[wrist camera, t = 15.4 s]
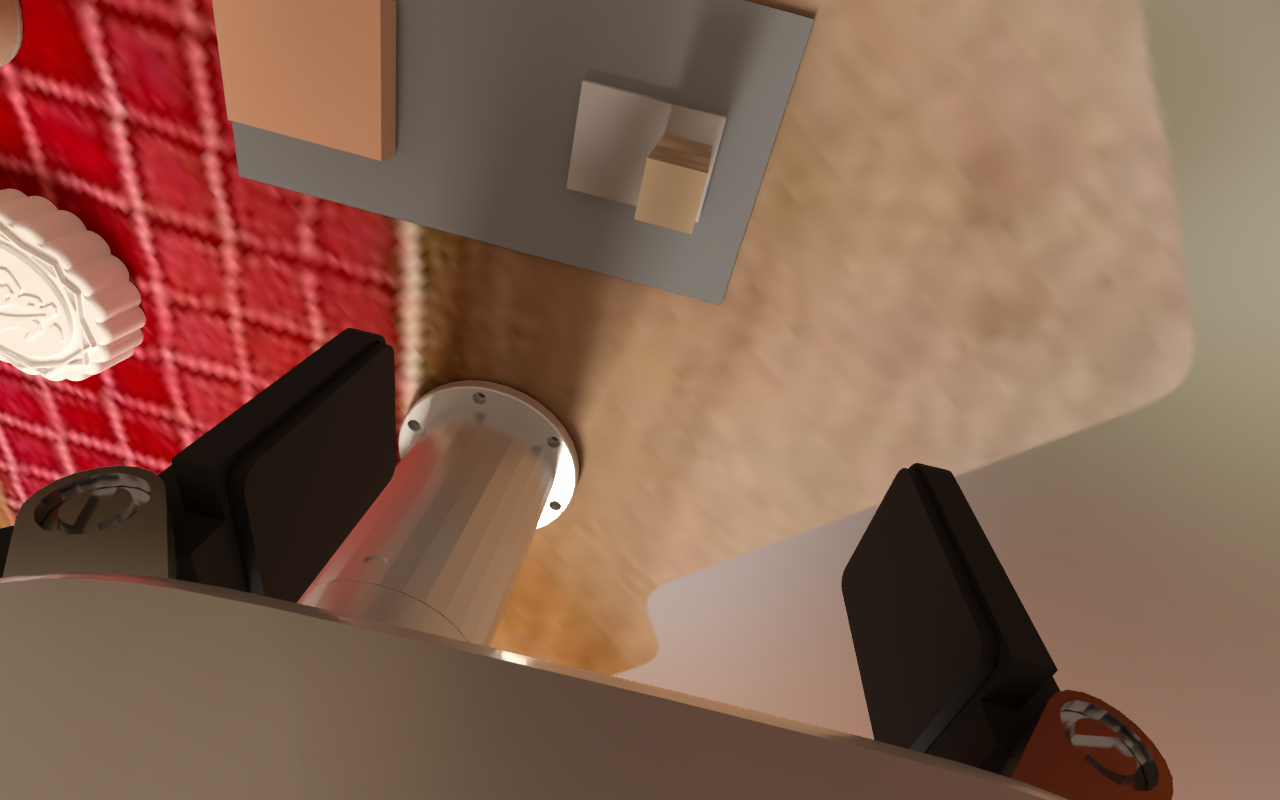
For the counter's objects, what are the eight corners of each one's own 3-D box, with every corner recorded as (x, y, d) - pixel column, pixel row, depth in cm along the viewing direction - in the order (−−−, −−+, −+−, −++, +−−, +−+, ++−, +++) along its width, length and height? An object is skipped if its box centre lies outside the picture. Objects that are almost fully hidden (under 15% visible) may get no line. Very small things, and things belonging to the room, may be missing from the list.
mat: (813, 19, 27) (814, 19, 26) (720, 303, 34) (720, 305, 34) (201, -148, 26) (196, -151, 26) (242, 175, 34) (238, 176, 33)
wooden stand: (726, 116, 29) (725, 139, 22) (698, 218, 31) (690, 266, 25) (585, 79, 29) (542, 92, 22) (570, 184, 31) (527, 223, 25)
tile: (380, -1, 27) (205, -49, 27) (381, 161, 30) (227, 119, 30) (398, 1, 28) (232, -44, 28) (397, 155, 32) (250, 115, 32)
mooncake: (153, 387, 43) (109, 414, 40) (-17, 319, 42) (-76, 342, 39) (145, 237, 37) (92, 255, 34) (-55, 153, 36) (-128, 163, 33)
